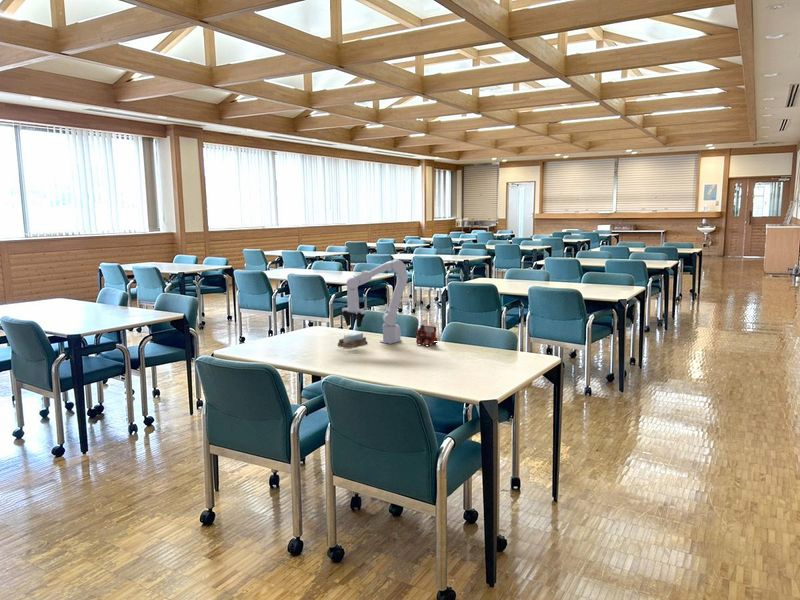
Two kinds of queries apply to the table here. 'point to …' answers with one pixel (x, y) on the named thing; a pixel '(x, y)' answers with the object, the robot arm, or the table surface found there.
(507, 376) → the table surface
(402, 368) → the table surface
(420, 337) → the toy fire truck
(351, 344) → the cradle
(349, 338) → the dome-topped blue pillar
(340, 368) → the table surface
